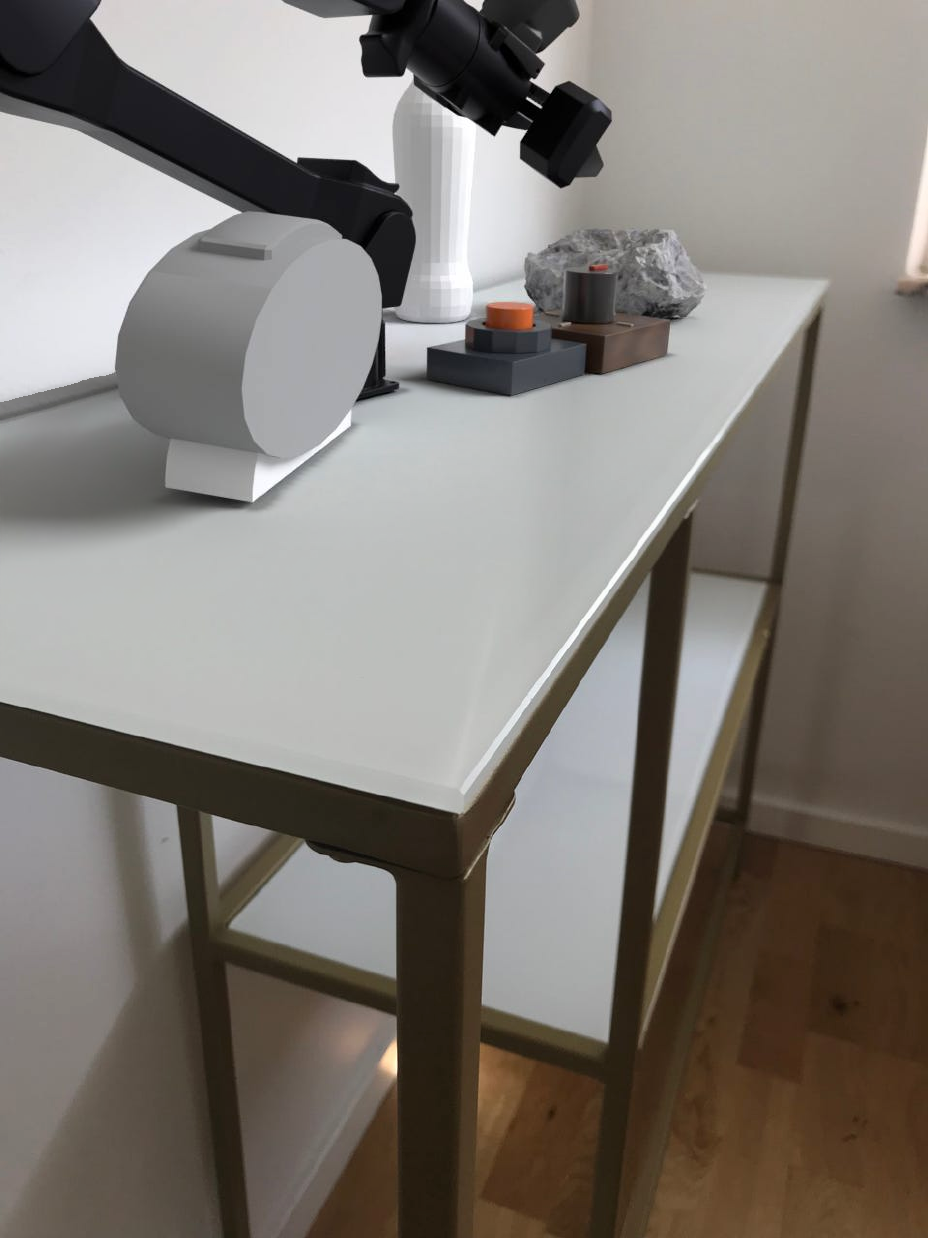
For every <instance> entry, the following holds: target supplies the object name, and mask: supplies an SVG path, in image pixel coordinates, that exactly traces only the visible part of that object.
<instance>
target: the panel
mask: <svg viewBox="0 0 928 1238" xmlns="http://www.w3.org/2000/svg"><path fill="white" fill-rule="evenodd" d="M533 320H540V321H544V322H546V323H549V324H552V337H551V338H552V339H559V340H565V341H572V342H578V343H585V344H586V358H585V372H588V373H593V374H600V375H603V374H606V373H607V374H608V373H610V372H613V371H617V370H620V369H623V368H627V367H630V366H633V365H637V364H640V363H643V362H644V363H645V362H646V361H650V360H654V359H657V358H660V357H664V356H667V355H668V350H669V340H670V330H671V319H669V318H663V319H662V318H654V317H647V316H639V315H631V314H624V313H616V312H615V313H614V321H612V322H609V323H601V324H586V323H575V322H569V321H565V320H563V319H562V309H559V310H554V311H549V312H544V313H541V312H538V313H535V314H534V313H533Z"/></svg>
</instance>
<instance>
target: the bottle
mask: <svg viewBox="0 0 928 1238" xmlns="http://www.w3.org/2000/svg"><path fill="white" fill-rule="evenodd" d="M392 119H393V120H392V129H391V130H392V151H393V167H394V183H398V184H399V186H400V187H399V189H398V191H397V192H396V193H395V194H396V195H398V196H400V197H401V198H402V199H403V200H404V201H405V202H407V203H408V205H409V206H410V208H411V209H412V212H413V216H412V221H413V225H414V228H415V232H416V244H415V250H414V254H413V258H412V262H411V266H410V271H409V275H408V279H407V283H406V287H405V291H404V296H403V300H402V304H401V306H399V307H393V308H394V313H395V315H396V316H397V318H399V319H401V320H403V321H405V322H411V323H420V324H449V323H451V324H452V323H458V322H463V321H465V320H467V318H468V317H469V316H470V314H471V310H472V306H473V303H474V301H473V299H474V281H473V277H472V275H471V273H470V269H469V262H468V241H469V229H470V216H471V202H472V191H473V190H472V189H473V179H474V178H473V177H474V165H475V164H474V163H475V149H476V136H477V135H476V132H477V124H475V123H474V122H472V121H471V120H470V119H468V118H465V117H461V116H457V115H456V114H454V113H453V112H452V111H450V110H449V109H447V108H444V107H443V106H442V105H440V104H439V103H437V102H436V101H434V100H433V99H432V98H430V97H429V96H427V95H426V94H425V93H424V92H422V91H421V90H420V89H418V88H417V87H416V86H415V85H414V78H413V77H412V80H411V82H410V84H409V85H408V87H407V88H406V89H405V91H404V92H403V94H402V95H401V97H400V99H399V100H398V101H397V104H396V107H395V111H394V113H393V118H392Z"/></svg>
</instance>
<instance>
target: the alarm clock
mask: <svg viewBox="0 0 928 1238" xmlns="http://www.w3.org/2000/svg"><path fill="white" fill-rule="evenodd" d="M382 312H383V309H382V294H381V288H380V282H379V277H378V274H377V271H376V269H375V266H374V264H373V261H372V259H371V258H370V256H369V255H368V254H367V253H366V252H365V251H364V249H363V248H362V247H361V246H359V245H357V244H355V243H353V242H351V241H349V240H347V239H342V235H341V234H340V233H339V232H338V231H336V230H335V229H334V228H333V227H331V226H330V225H329V224H327V223H325V222H322V221H320V220H316V219H308V218H301V217H293V216H286V215H279V214H271V213H264V212H251V211H247V212H244V213H242V212H240V213H237V214H233V215H232V216H230V217H229V218H226V219H224V220H223V221H221V222H220V223H218V224H216V225H214V226H213V227H211V228H209V229H205V230H203V231H199V232H196V233H194V234H192V235H191V236H189V237H187V238H185V240H182V241H181V242H179V243H178V244H176V245H175V246H173V247H172V248H170V249H169V250H168V251H167V252H166V253H165V254H164V255H163V256H162V257H161V258H160V259H159V261H157V263H156V264H154V265H153V266H152V267H151V269H150V270H149V271H148V272H147V273H146V275H145V276H144V278H143V280H142V281H141V283H140V285H139V286H138V288H137V289H136V291H135V293H134V294H133V296H132V297H131V299H130V301H129V303H128V304H127V308H126V311H125V314H124V317H123V320H122V323H121V325H120V328H119V331H118V334H117V341H116V353H115V360H114V361H115V362H114V371H115V377H116V381H117V387H118V392H119V393H118V394H119V398H120V399H121V401H122V402H123V404H124V406H125V408H126V409H127V412H128V413H129V414H130V417H131V418H132V419H133V420H134V421H135V422H136V423H138V424H139V425H140V426H142V427H143V428H144V429H145V430H146V431H148V432H149V433H151V434H152V435H153V436H157V437H160V438H164V439H169V445H168V450H167V454H166V463H165V464H166V465H165V473H164V476H165V478H164V479H165V481H164V482H165V484H164V485H165V488H167V489H172V490H173V489H174V490H179V491H185V492H191V493H197V494H202V495H208V496H213V497H220V498H225V499H231V500H237V501H242V502H248V503H254V502H255V501H257V500H258V499H259V498H260V497H261V496H263V495H264V494H265V493H267V492H268V491H269V490H271V489H272V488H273V487H274V486H276V485H277V484H278V483H279V482H281V481H282V480H283V479H284V478H286V477H287V476H289V475H290V474H291V473H292V472H294V471H295V470H296V469H297V468H298V467H300V466H301V465H302V464H304V463H305V462H306V461H307V460H309V459H310V458H312V457H313V456H314V455H315V454H317V452H319V451H320V450H321V449H323V448H324V447H326V446H327V445H328V444H329V443H331V442H332V441H333V440H334V439H336V438H337V437H338V436H340V435H341V434H342V433H344V432H345V431H346V430H348V429H349V428H350V427H351V426H352V409H353V407H354V405H355V403H356V401H357V400H358V399H357V397H358V396H359V394H360V392H361V390H362V388H363V386H364V384H365V381H366V379H367V376H368V374H369V371H370V369H371V366H372V363H373V359H374V356H375V352H376V348H377V344H378V340H379V333H380V326H381V319H382ZM356 399H357V400H356Z"/></svg>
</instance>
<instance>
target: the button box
mask: <svg viewBox="0 0 928 1238" xmlns="http://www.w3.org/2000/svg"><path fill="white" fill-rule="evenodd" d="M485 320H486V317H480V318H475V319H470V320H467V322H465V326H464V331H465V332H464V339H461V340H456V341H450V342H446V343H442V344H436V345H432V346H427V347H426V380H428V381H429V380H430V381H435V382H440V383H446V384H451V385H456V386H460V387H466V388H470V389H476V390H479V391H480V390H481V391H487V392H490V393H496V394H501V395H505V396H506V395H507V396H514V395H518V394H521V393H525V392H529V391H531V390H535V389H539V388H542V387H545V386H549V385H553V384H556V383H559V382H563V381H566V380H569V379H573V378H575V377H580V376H583V375H585V372H586V371H585V358H586V344H585V343H578V342H572V341H565V340H559V339H552V338H551V337H552V324H549V323H546V322H544V321H540V320H533V325H532V328H527V329H500V328H493V327H486V326H485Z"/></svg>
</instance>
